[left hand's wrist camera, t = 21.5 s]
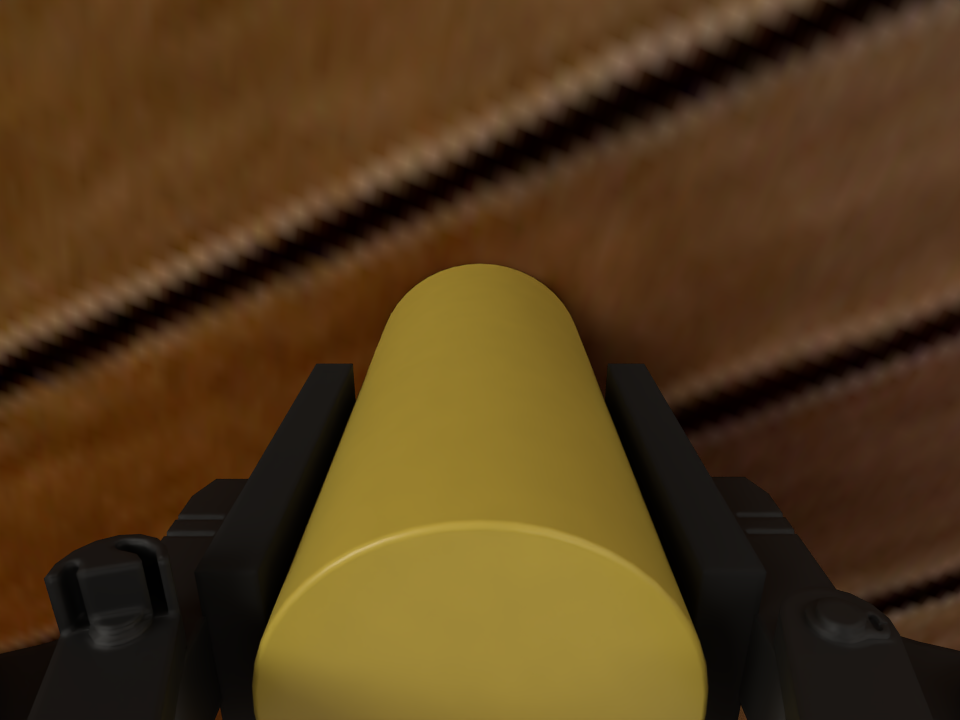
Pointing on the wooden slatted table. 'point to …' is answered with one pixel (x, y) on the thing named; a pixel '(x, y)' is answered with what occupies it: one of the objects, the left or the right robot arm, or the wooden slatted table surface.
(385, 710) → the cylinder
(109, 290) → the wooden slatted table surface
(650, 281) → the wooden slatted table surface
